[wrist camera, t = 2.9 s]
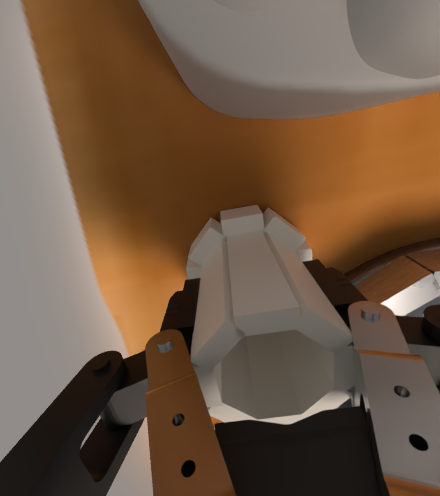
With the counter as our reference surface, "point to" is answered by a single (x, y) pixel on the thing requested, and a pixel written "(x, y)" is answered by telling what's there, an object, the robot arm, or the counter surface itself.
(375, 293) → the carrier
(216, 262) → the flanged octagonal tube
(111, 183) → the counter surface
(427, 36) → the paw print stamp
